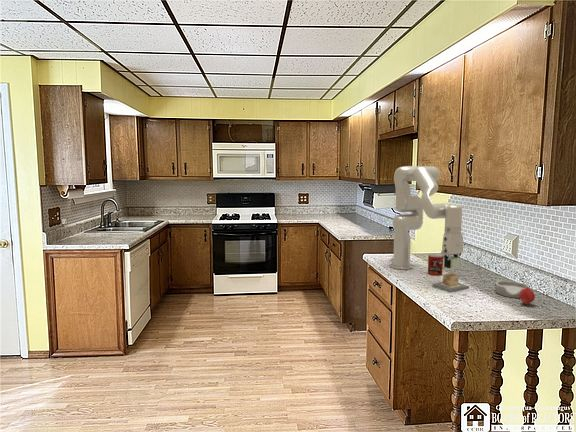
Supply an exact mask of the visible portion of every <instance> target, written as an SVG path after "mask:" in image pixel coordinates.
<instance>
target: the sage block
mask: <svg viewBox="0 0 576 432" xmlns="http://www.w3.org/2000/svg"><path fill="white" fill-rule="evenodd" d="M460 258H461V257H460ZM460 258H457V257H454V256H453V255H451V256H450V260H451V264H450V268H448V269H449V270H455V269H456V270H457V269H460V260H461V259H460ZM444 261H445V259H444V258H443V262H444ZM444 268H446V267H444ZM446 269H447V268H446Z"/></svg>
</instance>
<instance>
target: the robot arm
mask: <svg viewBox="0 0 576 432" xmlns="http://www.w3.org/2000/svg"><path fill="white" fill-rule="evenodd" d="M440 172H441V171H440V169H439V168H438V167H436V166H434V165H433V166H432V165H431V166H429V165H428V166H426V165H425V166H424V165H404V166H400V167H397V168H396V170H395V172H394V173H393V174H394V175H393V181H394V186H395V210H396V211H397V212H399V213H401V214H397V215H395V216H394V217H393V219H392V226H393V227H392V228H393V257H391V258H390V259H389V261H390V262H391V264H390V267H391V268H392V269H394V270H395V269H396V270H402V271H405V270H412V269H413V264H411V244H412V243H411V235H410V233H409V231H417V230H420V229H421V228H422V227H423V222H424V221H423V220H424V217H423V216H424V214H426V217H428V218H429V219H431V220H432V219H436V220H437V219H444V232H443V238H442V244H441V245H442V246H441V252H440V253H439V254H441V255H442V256H443V268H445V267H446V269H449V268H450V264H451V260H450V256H453V257H457V258H461V255H462V254H463V252H464V238H463V237H464V236H463V232H462V227H463V226H462V223H463V222H462V221H463V206H461V205H458V204H452V203H448V202H447V203H446V202H444V203H434V202H433V201H432V199H431V196H433V195H435V194H436V193H437V192H438V191H439V185H438V183H437V182H438V181H439V179H440V178H441V173H440ZM409 182H415V183H416V184H417V185H418V188H419V189H420V191H421V193H422V194H421V197H420V196H419V195H412V193H411V192H412V191H411V190H412V189H411V185H410V183H409ZM444 259H445V261H444Z"/></svg>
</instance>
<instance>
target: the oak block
mask: <svg viewBox="0 0 576 432" xmlns="http://www.w3.org/2000/svg"><path fill="white" fill-rule="evenodd" d="M442 282H443V284H444V285H447V286H450V287H453V286H457V285H458V283H459V274H456V273H455V274H454V273H451V272H449V273H442Z"/></svg>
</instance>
